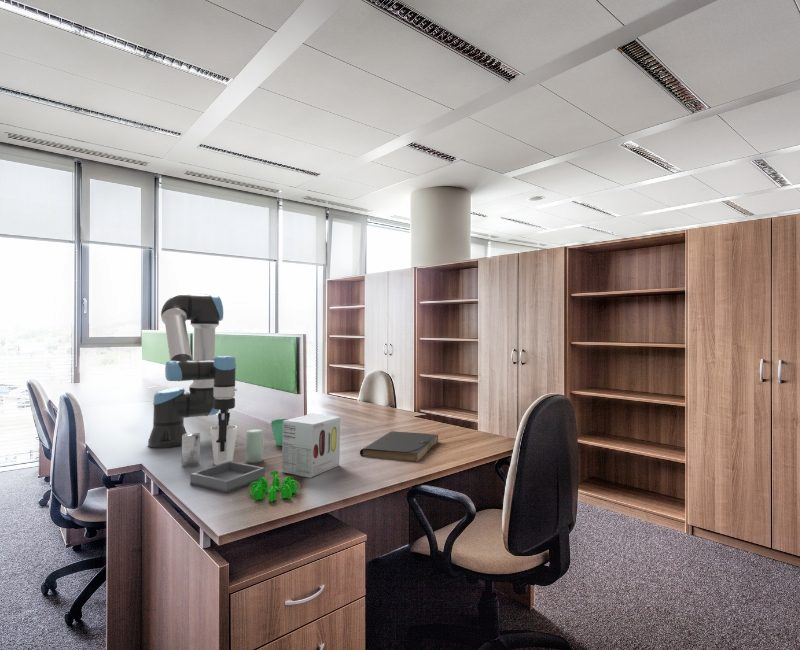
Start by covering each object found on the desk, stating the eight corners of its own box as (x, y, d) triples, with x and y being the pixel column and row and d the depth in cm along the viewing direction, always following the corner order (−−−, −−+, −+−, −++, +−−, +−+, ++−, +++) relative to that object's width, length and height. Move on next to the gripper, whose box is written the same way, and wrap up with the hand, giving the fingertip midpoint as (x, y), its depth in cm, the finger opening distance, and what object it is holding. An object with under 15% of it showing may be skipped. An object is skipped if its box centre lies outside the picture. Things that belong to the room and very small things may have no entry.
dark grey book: (418, 452, 173) (359, 447, 181) (418, 463, 173) (359, 457, 181) (439, 433, 205) (388, 430, 212) (439, 443, 205) (388, 439, 212)
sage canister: (242, 461, 171) (243, 431, 172) (254, 457, 177) (254, 428, 177) (254, 463, 169) (255, 433, 169) (266, 459, 174) (266, 430, 174)
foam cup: (241, 462, 170) (242, 427, 170) (217, 468, 163) (218, 431, 163) (228, 457, 176) (229, 423, 176) (205, 462, 169) (205, 427, 169)
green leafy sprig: (300, 485, 146) (301, 464, 146) (298, 503, 132) (298, 479, 132) (252, 488, 144) (252, 465, 144) (243, 506, 129) (244, 481, 129)
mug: (266, 446, 193) (267, 422, 193) (276, 441, 202) (276, 418, 203) (300, 448, 190) (300, 424, 191) (308, 442, 200) (308, 419, 200)
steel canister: (177, 465, 165) (178, 435, 165) (192, 461, 170) (192, 432, 170) (189, 468, 162) (189, 437, 162) (203, 464, 167) (203, 433, 167)
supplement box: (311, 478, 152) (312, 424, 153) (280, 472, 158) (281, 420, 159) (341, 465, 168) (341, 416, 168) (311, 460, 174) (312, 412, 174)
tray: (190, 484, 145) (190, 473, 145) (230, 471, 159) (230, 461, 160) (226, 493, 138) (226, 481, 138) (264, 478, 152) (264, 467, 152)
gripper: (233, 402, 159) (232, 463, 159) (236, 392, 183) (235, 446, 182) (210, 403, 157) (209, 465, 156) (216, 393, 180) (215, 447, 180)
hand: (223, 455), depth 169 cm, fingers open, 13 cm apart
